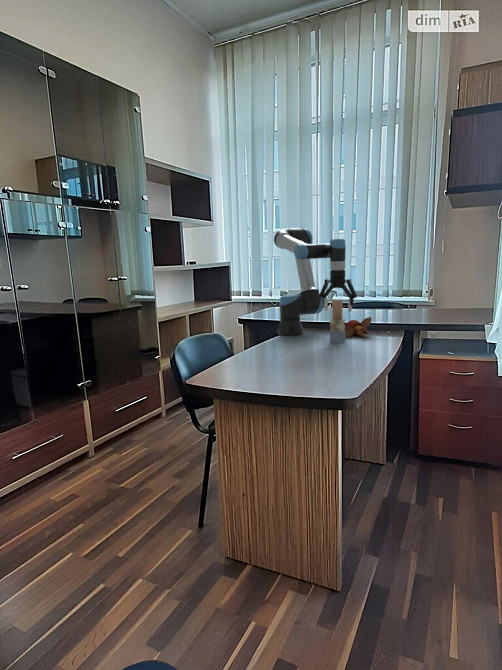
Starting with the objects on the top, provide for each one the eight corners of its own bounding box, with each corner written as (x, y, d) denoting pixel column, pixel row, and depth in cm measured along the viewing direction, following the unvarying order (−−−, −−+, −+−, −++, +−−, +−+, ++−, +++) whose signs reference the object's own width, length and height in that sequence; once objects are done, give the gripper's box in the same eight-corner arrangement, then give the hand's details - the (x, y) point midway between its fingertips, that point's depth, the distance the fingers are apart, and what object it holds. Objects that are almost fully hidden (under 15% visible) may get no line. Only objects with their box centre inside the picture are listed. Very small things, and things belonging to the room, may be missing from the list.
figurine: (381, 332, 224) (363, 322, 236) (379, 319, 219) (361, 310, 231) (353, 348, 219) (336, 338, 231) (350, 335, 214) (333, 325, 227)
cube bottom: (329, 342, 213) (329, 330, 212) (335, 339, 217) (335, 328, 216) (340, 343, 209) (340, 331, 208) (345, 340, 214) (345, 329, 213)
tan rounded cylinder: (330, 319, 211) (330, 300, 209) (335, 318, 215) (335, 299, 213) (339, 320, 207) (339, 300, 206) (344, 318, 211) (344, 299, 209)
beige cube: (330, 331, 211) (330, 319, 210) (333, 329, 216) (333, 317, 215) (341, 331, 208) (341, 320, 207) (344, 329, 213) (344, 318, 212)
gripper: (312, 270, 211) (313, 310, 215) (357, 269, 195) (357, 313, 200) (319, 269, 216) (319, 308, 221) (364, 269, 201) (363, 311, 205)
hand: (337, 311), depth 210 cm, fingers open, 13 cm apart
